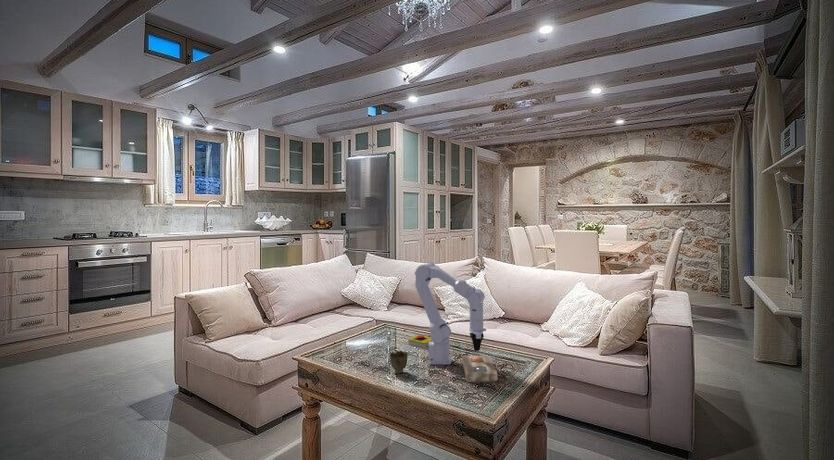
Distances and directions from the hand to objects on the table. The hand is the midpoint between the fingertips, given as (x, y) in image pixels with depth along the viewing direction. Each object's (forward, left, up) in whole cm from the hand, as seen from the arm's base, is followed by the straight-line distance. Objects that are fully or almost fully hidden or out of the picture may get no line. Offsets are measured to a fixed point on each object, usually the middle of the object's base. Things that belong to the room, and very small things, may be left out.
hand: (476, 350), depth 169 cm
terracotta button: (0, 0, -6) cm, 6 cm away
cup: (-33, -5, -7) cm, 34 cm away
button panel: (0, -5, -7) cm, 9 cm away
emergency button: (-24, +31, -8) cm, 40 cm away
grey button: (0, -10, -7) cm, 12 cm away
